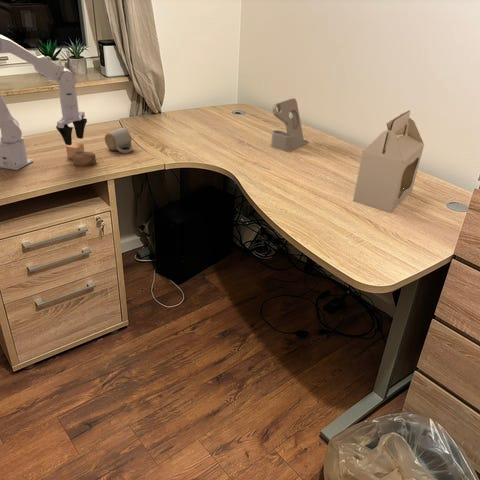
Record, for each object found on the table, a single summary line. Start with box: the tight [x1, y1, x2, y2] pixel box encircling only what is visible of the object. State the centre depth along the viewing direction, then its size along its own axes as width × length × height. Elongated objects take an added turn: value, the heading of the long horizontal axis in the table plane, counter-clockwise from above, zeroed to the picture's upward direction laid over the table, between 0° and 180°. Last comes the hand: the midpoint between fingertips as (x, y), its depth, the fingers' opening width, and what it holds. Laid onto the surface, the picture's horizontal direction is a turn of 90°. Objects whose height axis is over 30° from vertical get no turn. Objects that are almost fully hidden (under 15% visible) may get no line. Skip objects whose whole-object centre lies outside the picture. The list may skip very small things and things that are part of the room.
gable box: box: [352, 110, 425, 213], centre depth 154 cm, size 22×13×28 cm, turn 145°
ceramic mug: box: [104, 127, 133, 154], centre depth 184 cm, size 11×8×8 cm
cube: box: [65, 142, 85, 160], centre depth 176 cm, size 4×4×4 cm
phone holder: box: [270, 97, 309, 153], centre depth 197 cm, size 17×10×18 cm, turn 142°
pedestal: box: [71, 151, 97, 168], centre depth 172 cm, size 8×8×3 cm
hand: (74, 141), depth 174 cm, fingers open, 7 cm apart
